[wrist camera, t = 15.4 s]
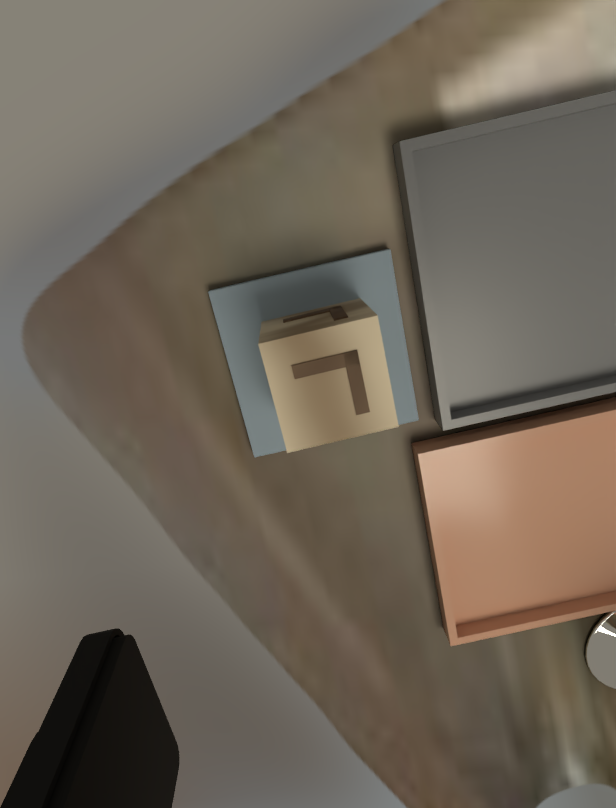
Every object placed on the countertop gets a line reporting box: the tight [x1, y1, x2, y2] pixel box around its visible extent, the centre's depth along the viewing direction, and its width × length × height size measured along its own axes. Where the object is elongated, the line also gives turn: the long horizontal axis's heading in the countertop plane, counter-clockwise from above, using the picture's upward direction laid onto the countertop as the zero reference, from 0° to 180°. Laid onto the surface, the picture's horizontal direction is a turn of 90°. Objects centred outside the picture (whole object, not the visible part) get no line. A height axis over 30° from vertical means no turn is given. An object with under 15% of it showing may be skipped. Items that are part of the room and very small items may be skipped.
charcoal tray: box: [393, 90, 616, 431], centre depth 27 cm, size 14×14×2 cm
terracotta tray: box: [411, 397, 616, 646], centre depth 32 cm, size 13×13×2 cm
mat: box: [208, 249, 419, 457], centre depth 28 cm, size 9×9×1 cm
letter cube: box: [258, 298, 399, 453], centre depth 26 cm, size 5×5×5 cm
